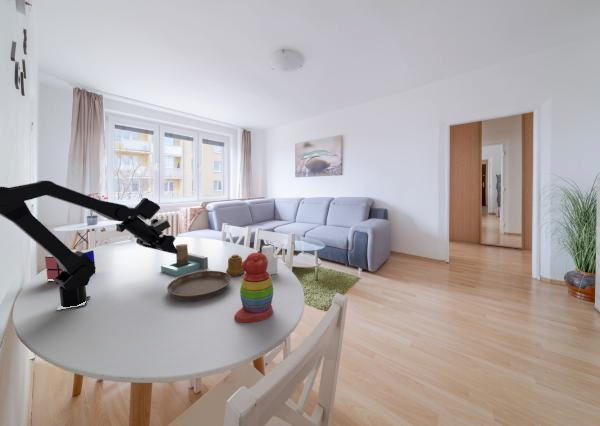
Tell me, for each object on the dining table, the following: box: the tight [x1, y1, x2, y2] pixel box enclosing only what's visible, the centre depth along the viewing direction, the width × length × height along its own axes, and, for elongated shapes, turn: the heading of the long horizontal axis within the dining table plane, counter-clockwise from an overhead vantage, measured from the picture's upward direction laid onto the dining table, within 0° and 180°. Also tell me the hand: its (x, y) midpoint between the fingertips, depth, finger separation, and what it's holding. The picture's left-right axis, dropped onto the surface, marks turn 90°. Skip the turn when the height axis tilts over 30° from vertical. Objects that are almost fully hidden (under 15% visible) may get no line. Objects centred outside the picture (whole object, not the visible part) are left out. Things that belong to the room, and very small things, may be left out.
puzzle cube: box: [44, 249, 96, 280], centre depth 92 cm, size 10×10×10 cm
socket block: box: [160, 260, 201, 277], centre depth 101 cm, size 11×11×2 cm
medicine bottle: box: [259, 243, 278, 276], centre depth 98 cm, size 7×7×12 cm
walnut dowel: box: [175, 243, 189, 268], centre depth 101 cm, size 4×4×11 cm
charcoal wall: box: [188, 252, 209, 270], centre depth 106 cm, size 2×16×5 cm, turn 60°
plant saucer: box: [166, 270, 232, 301], centre depth 81 cm, size 21×21×3 cm
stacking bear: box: [234, 250, 274, 323], centre depth 65 cm, size 11×10×18 cm
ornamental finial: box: [225, 253, 245, 277], centre depth 97 cm, size 8×8×8 cm
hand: (170, 251), depth 96 cm, fingers open, 9 cm apart
